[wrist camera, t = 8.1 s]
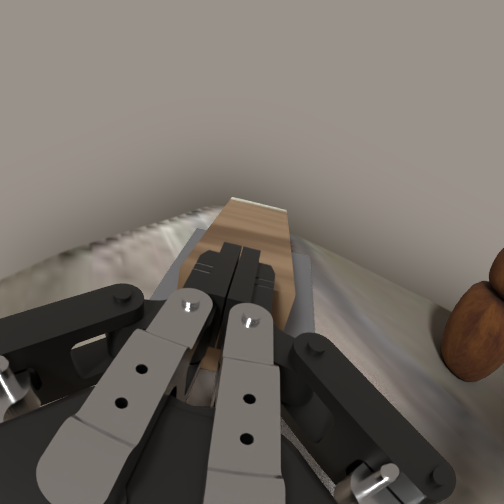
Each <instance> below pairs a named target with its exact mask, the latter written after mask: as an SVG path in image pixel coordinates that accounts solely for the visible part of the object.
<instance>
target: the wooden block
mask: <svg viewBox="0 0 504 504" xmlns="http://www.w3.org/2000/svg"><path fill="white" fill-rule="evenodd" d="M224 242H229V243H233V244H237V245H241V246H242V249H243V246H246V247H250V248H254V249H258V250H261V253H260V258H259V263H263V264H267V265H271V266H272V268H273V270H274V272H275V282H274V291H273V300H272V309H271V316H272V318H273V323H274V324H275V325H276V327H277V328H279V329H280V330H281V331H284V328H285V325H286V322H287V319H288V316H289V313H290V310H291V307H292V305H293V302H294V299H295V295H296V294H295V284H294V274H293V264H292V254H291V245H290V236H289V227H288V219H287V211H286V210H283V209H280V208H276V207H272V206H267V205H263V204H259V203H255V202H251V201H246V200H242V199H238V198H234V197H232V198H231V199H230V201H229V202H228V203H227V205H226V206H225V207H224V208H223V210H222V211H221V212H220V214H219V215H218V216H217V218H216V219H215V220H214V222H213V223H212V224H211V226H210V227H209V228H208V230H207V231H206V232H205V234H204V235H203V236H202V238H201V239H200V240H199V242H198V243H197V244H196V246H195V247H194V249H193V250H192V251H191V253H190V254H189V255H188V257H187V258H186V260H185V261H184V262H183V264H182V265H181V266H180V271H179V278H178V285H177V290H178V289H182V288H183V286H184V284H185V282H186V280H187V279H188V277H189V275H190V273H191V271H192V269H193V267H194V266H195V264H196V262H197V260H198V258H199V256H200V255H201V254H203V253H204V252H206V251H208V250H211V251H215V252H220V250H221V248H222V246H223V243H224ZM242 249H241V252H242ZM240 256H241V254H240ZM239 259H240V258H239ZM220 329H221V328H220ZM219 334H220V331H219ZM218 338H219V335H218ZM218 338H217V341H216V345H215V348H212V347H208V349H207V352H206V355H205V357H204V358H203V362H202V364H204V365H208V366H212V367H216V368H217V365H218V360H219V356H220V352H221V350H220V349H216V348H217V343H218Z"/></svg>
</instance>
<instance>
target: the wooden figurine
mask: <svg viewBox="0 0 504 504" xmlns="http://www.w3.org/2000/svg"><path fill="white" fill-rule="evenodd" d="M489 281H490V282H488V281H481V282H479V283H476V284H474V285H473V286H472V287H471V288H470V289H469V290H468V291H467V292H466V293H465V294H464V295H463V296H462V297H461V299H460V301H459V302H458V303H457V304H456V306H455V308H454V310H453V311H452V313H451V315H450V317H449V319H448V322H447V324H446V327H445V331H444V335H443V339H442V345H441V352H442V355H443V358H444V361H445V363H446V364H447V366H448V368H449V369H450V370H451V371H452V372H453V373H454V374H455V375H456V376H458V377H459V378H460V379H462V380H464V381H468V382H476V381H478V380H481V379H483V378H485V377H487V376H488V375H490V374H491V373H492V372H494V371H495V370H496V369H498V368H499V367H500V366H501V365H502V364H503V363H504V248H503V249H502V250H501V251H500V252H499V254H498V255H497V257H496V258H495V260H494V262H493V264H492V266H491V269H490V272H489Z"/></svg>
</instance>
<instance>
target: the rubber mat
mask: <svg viewBox="0 0 504 504" xmlns="http://www.w3.org/2000/svg"><path fill="white" fill-rule="evenodd" d="M206 231H207V230H203V229H199V228H197V229H196V230H195V232H194V233H193V235H192V236H191V238H190V239H189V241H188V242H187V244H186V245H185V247H184V248H183V249H182V251H181V252H180V254H179V255H178V257H177V258H176V260H175V261H174V263H173V264H172V266H171V267H170V269H169V270H168V272H167V273H166V275H165V276H164V278H163V279H162V281H161V283H160V284H159V286H158V287H157V289H156V290H155V292H154V293H153V295H152V296H151V298H150V300H167V299H168V298H169V296H170V295H171V294H172V293H173V292H174V291H176V290H177V285H178V278H179V271H180V266H181V265H182V264H183V262H184V261H185V260H186V258H187V257H188V255H189V254H190V253H191V251H192V250H193V249H194V247H195V246H196V244H197V243H198V242H199V240H200V239H201V238H202V236H203V235H204V234H205V232H206ZM291 254H292V264H293V274H294V284H295V294H296V295H295V299H294V302H293V305H292V307H291V310H290V313H289V316H288V319H287V322H286V325H285V328H284V331H283V332H284V333H286V334H288V335H290V336H292V337H294V338H296V337H297V336H298V335H300V334H302V333H307V332H311V333H315V325H314V307H313V291H312V277H311V264H310V256H306V255H302V254H298V253H294V252H291Z"/></svg>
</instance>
